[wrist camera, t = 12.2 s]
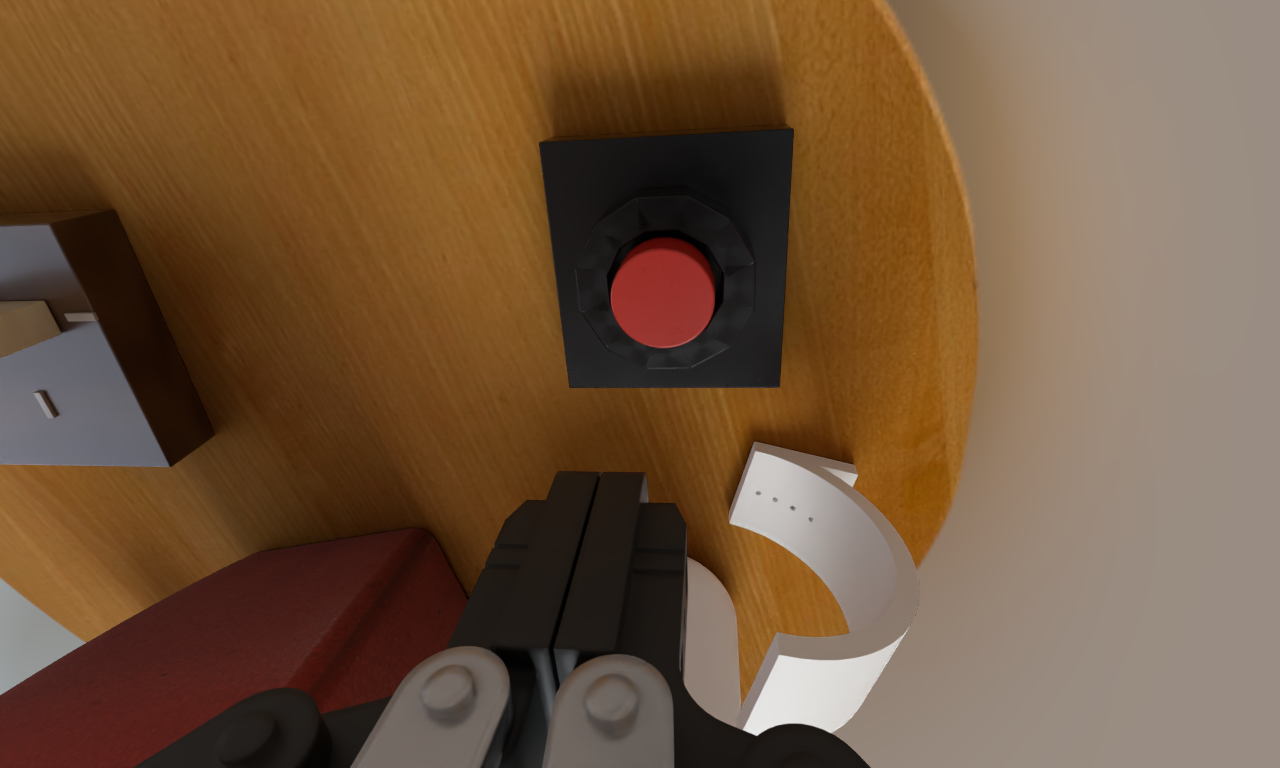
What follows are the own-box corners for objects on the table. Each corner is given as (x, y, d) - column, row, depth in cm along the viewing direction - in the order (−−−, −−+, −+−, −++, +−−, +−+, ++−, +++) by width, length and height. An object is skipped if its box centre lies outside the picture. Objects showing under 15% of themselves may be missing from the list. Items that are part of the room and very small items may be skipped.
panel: (-89, 192, 28) (-180, 205, 25) (105, 183, 26) (33, 195, 23) (53, 433, 33) (-7, 466, 31) (217, 435, 32) (170, 469, 29)
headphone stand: (754, 440, 29) (779, 653, 18) (875, 469, 29) (972, 699, 18) (727, 513, 31) (736, 741, 20) (841, 539, 31) (909, 782, 20)
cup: (719, 524, 31) (722, 700, 22) (748, 654, 35) (760, 846, 27) (541, 544, 33) (479, 713, 24) (589, 665, 37) (551, 846, 29)
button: (613, 237, 21) (605, 250, 20) (714, 234, 21) (715, 247, 19) (620, 331, 23) (614, 349, 21) (714, 329, 22) (714, 348, 21)
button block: (552, 136, 23) (524, 147, 20) (787, 124, 22) (801, 132, 19) (579, 366, 28) (559, 408, 24) (775, 365, 27) (784, 409, 23)
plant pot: (170, 516, 35) (-223, 834, 21) (454, 463, 31) (219, 814, 16) (327, 720, 43) (125, 1056, 28) (571, 699, 39) (484, 1081, 24)
